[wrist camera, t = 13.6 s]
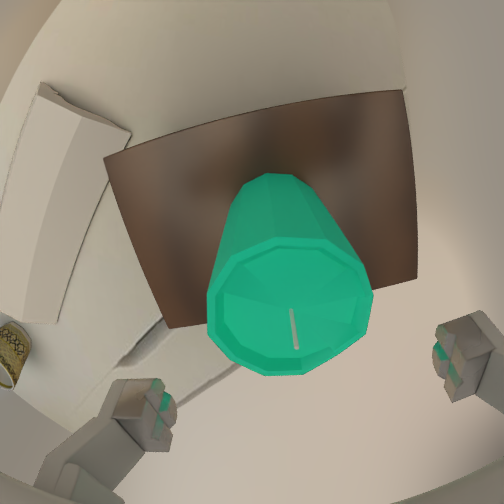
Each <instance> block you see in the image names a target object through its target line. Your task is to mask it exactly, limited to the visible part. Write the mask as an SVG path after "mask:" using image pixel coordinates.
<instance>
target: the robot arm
mask: <svg viewBox="0 0 504 504" xmlns="http://www.w3.org/2000/svg"><path fill="white" fill-rule="evenodd" d="M435 336H436V338H437V340H438V341H437V343H436V344H435V345H434V347H433V353H432V358H433V365H434V368H435V371H436V373H437V375H438V376H439V377H441V378H443V379H445V384H444V388H445V390H446V392H447V394H448V396H449V398H450V400H451V402H452V403H453V402H456V401H458V400H461V399H463V398H466V397H468V396H471V395H473V394H476V396H478V397H479V398H481V399H482V400H484V401H485V402H487V403H488V404H490V405H491V406H493V407H494V408H496V409H497V410H499V411H500V412H502V413H503V414H504V336H503V335H502V333H501V332H500V331H499V330H498V329H497V328H496V326H495V325H494V324H493V323H492V321H491V320H490V319H489V318H488V317H487V315H486V314H485V313H484V312H483V311H480V310H479V311H476V312H474V313H471V314H468V315H466V316H463V317H460V318H457V319H455V320H452V321H449V322H446V323H443V324H440V325H438V327H437V329H436V334H435ZM164 389H165V385H164V384H163V382H162V381H161V379H157V378H151V379H116V380H115V381H114V382H113V383H112V385H111V387H110V389H109V392H108V394H107V396H106V398H105V401H104V403H103V405H102V407H101V410H100V412H99V414H98V417H97V418H96V417H93V418H92V419H91V420H90V421H89V422H87V423H86V424H85V425H84V426H82V427H81V428H80V429H79V430H78V431H76V432H75V433H74V434H73V435H71V436H70V437H69V438H68V439H66V440H65V441H64V442H63V443H62V444H60V445H59V446H58V447H57V448H55V449H54V450H53V451H52V452H50V453H49V454H48V455H47V456H46V458H45V460H44V462H43V465H42V467H41V469H40V471H39V474H38V476H37V479H36V481H35V483H34V486H30V485H28V484H26V483H23V482H21V481H19V480H17V479H14V478H12V477H10V476H8V475H6V474H4V473H2V472H0V504H124V503H125V502H124V500H123V499H122V498H121V497H119V496H118V495H117V494H115V493H114V492H112V491H113V490H114V489H115V488H116V487H117V485H118V484H119V483H120V482H121V481H122V480H123V478H124V477H125V476H126V475H127V474H128V473H129V472H130V470H131V469H132V468H133V467H134V466H135V465H136V463H137V462H138V461H139V460H140V459H141V457H142V456H143V455H144V454H145V452H169V450H170V445H171V441H172V437H173V434H172V432H171V431H170V428H171V427H172V426H173V425H174V424H175V423H176V419H177V407H176V404H175V401H174V399H173V398H172V396H171V395H170V394H168V393H166V392H165V391H164ZM392 504H504V456H503V457H501V458H499V459H498V460H496V461H494V462H492V463H490V464H488V465H486V466H485V467H483V468H481V469H479V470H477V471H475V472H472V473H470V474H468V475H467V476H464V477H462V478H460V479H457V480H455V481H453V482H451V483H448V484H446V485H443V486H441V487H438V488H436V489H433V490H431V491H428V492H425V493H423V494H420V495H417V496H414V497H411V498H408V499H405V500H402V501H398V502H395V503H392Z"/></svg>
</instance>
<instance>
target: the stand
mask: <svg viewBox="0 0 504 504" xmlns="http://www.w3.org/2000/svg"><path fill="white" fill-rule="evenodd" d="M103 161H104V165H105V168H106V171H107V174H108V177H109V180H110V183H111V186H112V189H113V192H114V195H115V198H116V201H117V204H118V207H119V210H120V212H121V215H122V218H123V221H124V224H125V226H126V229H127V232H128V234H129V237H130V239H131V242H132V245H133V247H134V250H135V252H136V255H137V257H138V260H139V262H140V265H141V267H142V270H143V272H144V274H145V277H146V279H147V281H148V284H149V286H150V288H151V291H152V293H153V295H154V298H155V300H156V302H157V304H158V306H159V309H160V311H161V313H162V315H163V317H164V320H165V322H166V324H167V326H168V328H169V329H173V328H180V327H186V326H193V325H200V324H206V323H207V291H208V287H209V283H210V280H211V276H212V272H213V268H214V264H215V261H216V257H217V253H218V249H219V246H220V242H221V238H222V235H223V231H224V227H225V224H226V220H227V216H228V213H229V209H230V206H231V204H232V202H233V200H234V199H235V197H236V196H237V194H238V193H239V191H240V189H241V188H242V186H243V185H244V184H246V183H247V182H249V181H251V180H253V179H255V178H257V177H259V176H261V175H263V174H265V173H275V174H292V175H293V176H295V177H296V178H298V179H299V180H301V181H302V182H304V183H305V184H307V185H308V186H310V187H311V188H312V189H313V190H314V192H315V193H316V194H317V196H318V197H319V199H320V200H321V202H322V203H323V204H324V206H325V207H326V209H327V210H328V212H329V213H330V215H331V216H332V217H333V219H334V220H335V222H336V223H337V225H338V226H339V228H340V229H341V231H342V232H343V234H344V235H345V237H346V238H347V240H348V241H349V243H350V244H351V246H352V248H353V249H354V251H355V252H356V254H357V255H358V257H359V258H360V260H361V262H362V263H363V265H364V267H365V270H366V273H367V276H368V279H369V283H370V286H371V289H372V290H375V289H379V288H383V287H387V286H391V285H395V284H399V283H403V282H406V281H410V280H414V279H417V269H418V230H417V204H416V189H415V176H414V165H413V156H412V147H411V140H410V132H409V125H408V119H407V113H406V107H405V102H404V96H403V91H402V90H401V89H400V90H387V91H375V92H365V93H356V94H348V95H340V96H333V97H326V98H319V99H313V100H307V101H301V102H295V103H290V104H285V105H280V106H275V107H270V108H265V109H260V110H256V111H252V112H247V113H243V114H239V115H235V116H231V117H227V118H223V119H219V120H215V121H212V122H208V123H204V124H201V125H197V126H194V127H190V128H187V129H184V130H180V131H177V132H174V133H171V134H168V135H165V136H162V137H158V138H155V139H153V140H150V141H147V142H144V143H141V144H138V145H135V146H133V147H130V148H127V149H124V150H122V151H119V152H117V153H114V154H111V155H109V156H106V157H104V158H103Z"/></svg>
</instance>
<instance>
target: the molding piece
mask: <svg viewBox="0 0 504 504" xmlns="http://www.w3.org/2000/svg"><path fill="white" fill-rule="evenodd" d="M131 134H132V133H131V132H129V131H126V130H124V129H122V128H119V127H118V126H116V125H115V124H113V123H112V122H111V121H109V120H107V119H105V118H103V117H101V116H98V115H96V114H93V113H90V112H88V111H85V110H83V109H80V108H78V107H75V106H73V105H71V104H69V103H67V102H66V101H64V99H63V98H62V97H61V96H59V95H58V92H56V91H54V90H53V89H51V88H50V86H48V85H46V84H44V83H43V82H40V84H39V87H38V89H37V91H36V94H35V96H34V98H33V101H32V103H31V106H30V108H29V111H28V113H27V116H26V118H25V121H24V124H23V127H22V130H21V132H20V135H19V138H18V141H17V144H16V148H15V151H14V154H13V157H12V161H11V164H10V168H9V172H8V175H7V179H6V183H5V188H4V192H3V196H2V201H1V206H0V311H1V312H3V313H5V314H6V315H8V316H10V317H12V318H14V319H16V320H18V321H19V322H21V323H36V324H56V323H57V319H58V315H59V312H60V308H61V305H62V301H63V298H64V295H65V291H66V288H67V285H68V282H69V279H70V276H71V272H72V270H73V267H74V264H75V261H76V258H77V255H78V252H79V250H80V247H81V244H82V241H83V239H84V236H85V234H86V231H87V228H88V226H89V223H90V221H91V219H92V216H93V214H94V211H95V209H96V207H97V204H98V202H99V200H100V197H101V195H102V193H103V191H104V188H105V186H106V184H107V182H108V180H109V177H108V174H107V171H106V168H105V165H104V161H103V158H104V157H106V156H109V155H111V154H114V153H117V152H119V151H122V150H123V149H124V147H125V145H126V143H127V142H128V140H129V138H130V136H131Z"/></svg>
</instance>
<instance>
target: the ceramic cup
mask: <svg viewBox="0 0 504 504" xmlns="http://www.w3.org/2000/svg"><path fill="white" fill-rule="evenodd" d="M30 350H31V339H30V337H29V336H28V335H27V333H26V332H25V330H24V329H23V328H22V327H20V326H19V325H17V324H16V323H14V322H10V323H6V324H5V325H4V326H2V327H1V328H0V388H2V389H5V390H8V391H11V390H13V389H14V387H15V385H16V383H17V381H18V379H19V376H20V373H21V370H22V368H23V366H24V364H25V361H26V359H27V357H28V355H29V352H30Z"/></svg>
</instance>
